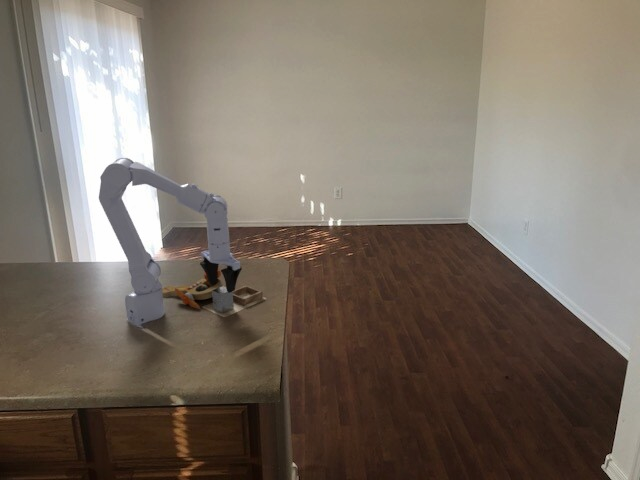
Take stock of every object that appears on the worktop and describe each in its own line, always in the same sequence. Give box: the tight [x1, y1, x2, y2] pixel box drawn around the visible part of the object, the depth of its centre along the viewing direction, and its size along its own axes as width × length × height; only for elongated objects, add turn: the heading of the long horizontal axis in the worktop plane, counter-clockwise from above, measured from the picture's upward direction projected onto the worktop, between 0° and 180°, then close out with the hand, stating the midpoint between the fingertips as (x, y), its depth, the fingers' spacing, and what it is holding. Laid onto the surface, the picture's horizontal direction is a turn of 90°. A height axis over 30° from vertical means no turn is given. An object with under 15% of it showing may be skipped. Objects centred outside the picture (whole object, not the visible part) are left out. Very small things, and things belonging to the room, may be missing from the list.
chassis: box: [201, 285, 268, 318], centre depth 148 cm, size 16×10×3 cm, turn 139°
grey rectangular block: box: [212, 285, 234, 314], centre depth 143 cm, size 4×4×6 cm
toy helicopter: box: [162, 268, 226, 310], centre depth 151 cm, size 8×21×14 cm
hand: (222, 287), depth 142 cm, fingers open, 7 cm apart
